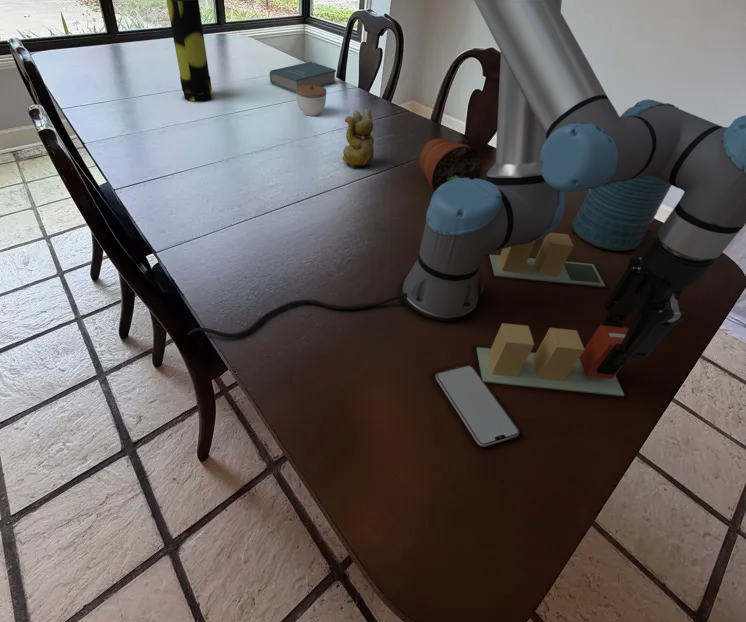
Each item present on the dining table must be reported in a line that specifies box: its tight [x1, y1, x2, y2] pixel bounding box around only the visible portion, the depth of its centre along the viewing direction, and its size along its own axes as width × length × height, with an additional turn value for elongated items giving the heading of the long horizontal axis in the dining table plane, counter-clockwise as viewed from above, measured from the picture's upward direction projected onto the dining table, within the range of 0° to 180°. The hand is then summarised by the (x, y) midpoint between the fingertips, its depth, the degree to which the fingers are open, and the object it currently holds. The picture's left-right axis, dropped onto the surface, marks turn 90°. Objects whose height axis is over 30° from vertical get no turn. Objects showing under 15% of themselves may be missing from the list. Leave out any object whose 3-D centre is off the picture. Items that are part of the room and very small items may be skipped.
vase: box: [571, 175, 673, 252], centre depth 102 cm, size 16×16×27 cm
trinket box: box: [296, 84, 327, 117], centre depth 158 cm, size 11×11×9 cm
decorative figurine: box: [342, 108, 375, 169], centre depth 128 cm, size 10×8×15 cm
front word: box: [476, 322, 625, 397], centre depth 75 cm, size 24×8×8 cm, turn 85°
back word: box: [489, 232, 606, 288], centre depth 96 cm, size 24×8×8 cm, turn 85°
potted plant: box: [418, 137, 483, 193], centre depth 113 cm, size 16×15×35 cm
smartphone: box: [435, 364, 520, 448], centre depth 71 cm, size 7×1×15 cm
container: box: [166, 0, 213, 103], centre depth 156 cm, size 11×11×30 cm
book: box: [269, 61, 337, 95], centre depth 183 cm, size 23×16×5 cm
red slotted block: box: [579, 324, 629, 379], centre depth 74 cm, size 4×4×8 cm
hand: (600, 360), depth 75 cm, fingers closed on red slotted block, 4 cm apart
